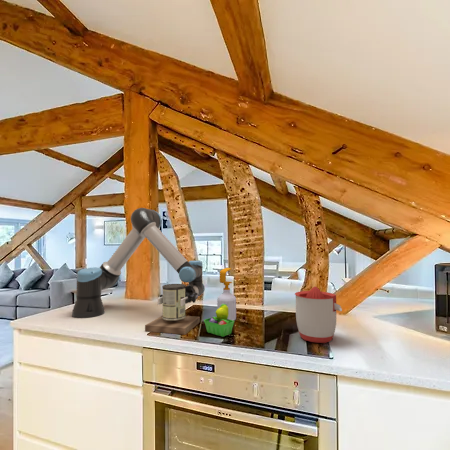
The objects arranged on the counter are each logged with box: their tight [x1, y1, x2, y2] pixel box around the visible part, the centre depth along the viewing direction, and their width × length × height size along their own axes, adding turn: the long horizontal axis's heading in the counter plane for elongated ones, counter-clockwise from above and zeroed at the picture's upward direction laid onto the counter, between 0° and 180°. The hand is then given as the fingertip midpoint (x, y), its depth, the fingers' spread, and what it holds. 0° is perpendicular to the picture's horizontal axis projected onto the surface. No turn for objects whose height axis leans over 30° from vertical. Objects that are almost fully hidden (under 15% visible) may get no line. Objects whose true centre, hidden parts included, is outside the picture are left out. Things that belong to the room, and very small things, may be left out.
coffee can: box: [161, 283, 187, 321], centre depth 126 cm, size 10×10×14 cm
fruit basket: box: [203, 304, 235, 337], centre depth 117 cm, size 11×9×11 cm
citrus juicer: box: [294, 286, 343, 344], centre depth 110 cm, size 16×17×20 cm
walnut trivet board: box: [144, 314, 201, 335], centre depth 125 cm, size 18×18×2 cm
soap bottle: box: [216, 267, 237, 322], centre depth 137 cm, size 9×9×25 cm
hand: (169, 302), depth 122 cm, fingers closed on coffee can, 10 cm apart
